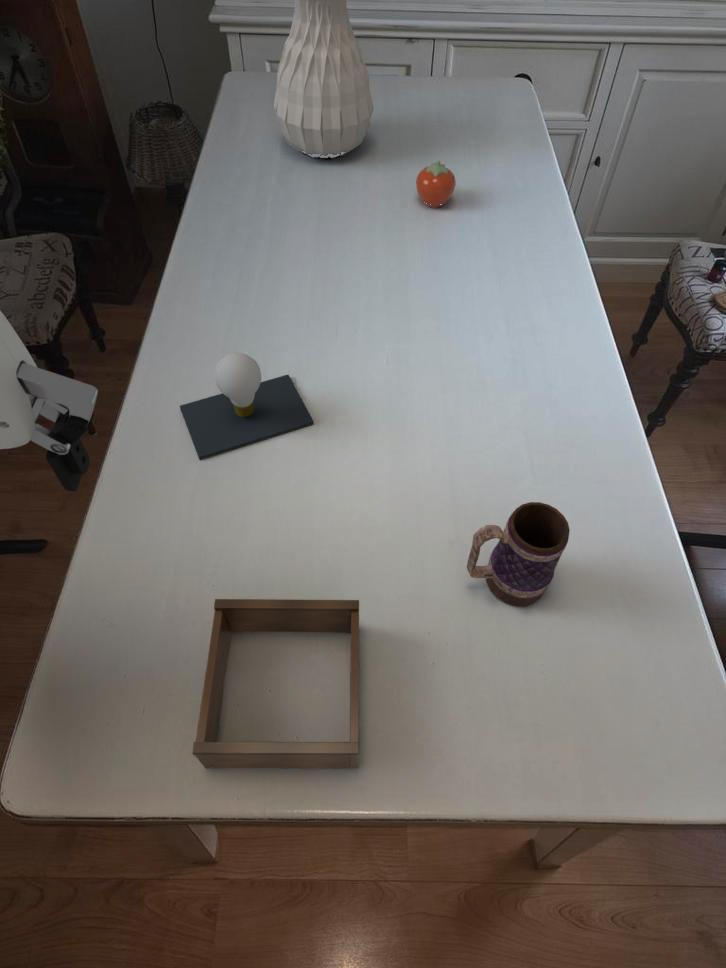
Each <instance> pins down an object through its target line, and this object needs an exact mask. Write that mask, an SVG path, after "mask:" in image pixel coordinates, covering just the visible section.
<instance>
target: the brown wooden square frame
mask: <svg viewBox="0 0 726 968" xmlns="http://www.w3.org/2000/svg"><path fill="white" fill-rule="evenodd" d="M213 609H214V615H213V622H212V627H211V635H210V640H209V649H208V654H207V660H206V661H207V662H206V669H205V675H204V682H203V689H202V695H201V704H200V709H199V716H198V723H197V729H196V736H195V741H194V742H193V746H192V752H191V753H192V755H193V756H195V757H196V759H197V760H198V761H199V763H200V764H201V765H202V766H203V768H204V769H359V759H360V758H359V757H360V600H359V599H277V598H276V599H275V598H273V599H270V598H269V599H267V598H266V599H262V598H261V599H259V598H257V599H255V598H251V599H250V598H236V599H235V598H231V599H229V598H215V599H214V605H213ZM231 632H265V633H266V632H271V633H272V632H277V633H278V632H280V633H281V632H282V633H286V632H288V633H290V632H293V633H294V632H295V633H297V632H299V633H307V632H308V633H350V677H349V678H350V679H349V680H350V682H349V685H350V689H349V691H350V692H349V741H218V734H219V726H220V717H221V712H222V711H221V710H222V702H223V695H224V688H225V687H224V686H225V681H226V679H225V678H226V671H227V665H228V656H229V649H230V640H231Z"/></svg>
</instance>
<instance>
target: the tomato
mask: <svg viewBox="0 0 726 968" xmlns="http://www.w3.org/2000/svg"><path fill="white" fill-rule="evenodd" d="M456 185H457V184H456V177H455V174H454V172H452V170H450V169H449V168H448V167H446V164H444V163H442V162H441V160H439V159H437V160H436V161H435V162H432V163H431V164H430V165H428V166H426V167H424V168H423V169H421V170H420V171H419V173H418V174H417V176H416V179H415V186H416V192H417V195H418V197H419V200H420V201H421V202H422V203H423V204H424V205H425V206H427V207H429V208H433V209H435V208H441V207H442V206H444V205H445V204H446V203H448V202H449V200H450V199H451V197H452V195H453V194H454V191H455V189H456ZM424 202H425V203H424ZM426 203H427V204H426ZM430 204H431V205H430ZM440 204H442V205H440Z"/></svg>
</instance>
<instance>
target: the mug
mask: <svg viewBox="0 0 726 968" xmlns="http://www.w3.org/2000/svg"><path fill="white" fill-rule="evenodd" d="M570 531H571V530H570V525H569V522H568V520H567V518H566V517H565V515H564V514H563V513H562V512H561V511H559V509H557V508H555V507H553V505H550V504H548V503H543V502H539V501H530V502H526V503H523V504H521V505H519V506H518V507H516V508H515V509H514V511H513V512H512V513H511V514H510V516H509V517H508V520H507V521H506V523H505V527H504V529H502V528H501V526H500V525H497V524H486V525H484V526H481V527H480V528H479V529H478V530H477V531H475V533H474V534H473V536H472V543H471V544H472V545H471V548H470V552H469V555H468V558H467V563H466V570H467V572H468V574H469V575H470V577H471V578H472V579H477V580H478V579H485V581H486V585H487V586H488V590H489V591H490V592H491V593H492V594H493V596H495V597H496V599H498V600H500V601H501V602H503V603H505V604H506V605H507V604H508V605H511V606H514V607H527V606H530V605H533V604H535V603H537V602H538V601H539V600H541V598H542V597H543V595H544V594H545V592H546V591H547V589H548V587H549V586H550V584H551V582H552V581H553V579H554V575H555V570H556V567H557V566H558V564H559V561H560V559H561V556H562V555H563V553H564V551H565V549H566V547H567V545H568V543H569V536H570ZM494 539H498V541H497V543H496V545H495V546H494V548H493V549H492V551H491V553H490V555H489V559H488V562H487V563H488V564H487V565H477V564H478V560H479V558H480V553H481V552H480V551H481V548H482V546H483V545H484V544H485V543H486V542H489V541H490V540H494Z"/></svg>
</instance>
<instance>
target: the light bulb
mask: <svg viewBox="0 0 726 968" xmlns="http://www.w3.org/2000/svg"><path fill="white" fill-rule="evenodd" d="M214 382H215V385H216V387H217V389H218V390H219V391H220V393H221V394H222V393H223V394H224V395H225V396H227V397H229V398H230V400H231V402H232V403H233V406H234V410H235V413H236V414H237V415H238V416H241V417H246V416H249V415H251V414H252V413H253V412H254V402H253V400H254V397H255V392H256V391H257V390H258V388H259V386H260V383H261V382H262V371H261V368H260V365H259V364H258V362H257V361H256V360H255V359H254V358H253V357H252V356H250V355H249V354H246V353H243V352H231V353H228V354H226V355H225V356H223V357H222V358H220V360H218V362H217V364H216V366H215V370H214Z"/></svg>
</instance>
